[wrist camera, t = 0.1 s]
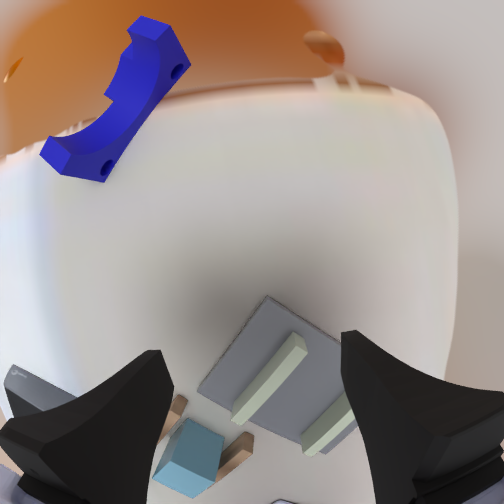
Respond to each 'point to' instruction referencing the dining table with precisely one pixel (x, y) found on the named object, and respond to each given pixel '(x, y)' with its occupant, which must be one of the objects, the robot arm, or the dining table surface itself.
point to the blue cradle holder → (122, 103)
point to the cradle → (228, 458)
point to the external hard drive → (32, 393)
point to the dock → (284, 380)
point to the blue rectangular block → (190, 459)
